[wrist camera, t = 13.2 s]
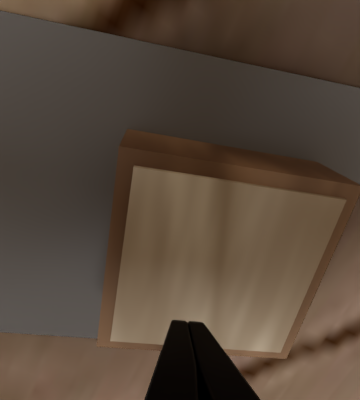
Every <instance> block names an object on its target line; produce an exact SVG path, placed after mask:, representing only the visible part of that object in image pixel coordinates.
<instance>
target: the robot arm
mask: <svg viewBox="0 0 360 400" xmlns="http://www.w3.org/2000/svg"><path fill="white" fill-rule="evenodd" d="M145 400H260V399H259V397H258V396H257V394H256V393H255V392H254V390H253V389H252V388H251V386H250V385H249V384H248V382H247V381H246V380H245V378H244V377H243V375H242V374H241V373H240V371H239V370H238V369H237V367H236V366H235V365H234V363H233V362H232V361H231V359H230V358H229V356H228V355H227V354H226V352H225V351H224V350H223V348H222V347H221V346H220V344H219V343H218V342H217V340H216V339H215V337H214V336H213V335H212V333H211V332H210V331H209V329H208V328H207V327H206V325H205V324H204V323H203V322H197V321H189V322H186V321H185V320H172V321H171V323H170V326H169V329H168V332H167V335H166V338H165V341H164V344H163V347H162V350H161V352H160V355H159V358H158V361H157V364H156V367H155V370H154V373H153V376H152V379H151V382H150V385H149V388H148V391H147V394H146V397H145Z"/></svg>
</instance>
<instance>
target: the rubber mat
mask: <svg viewBox="0 0 360 400" xmlns="http://www.w3.org/2000/svg"><path fill="white" fill-rule="evenodd" d="M127 129H132V130H137V131H143V132H149V133H155V134H160V135H166V136H172V137H177V138H183V139H189V140H195V141H200V142H206V143H212V144H218V145H223V146H229V147H235V148H241V149H246V150H252V151H258V152H263V153H269V154H275V155H281V156H286V157H292V158H298V159H304V160H309V161H315V162H318V163H320V164H322V165H324V166H326V167H328V168H330V169H332V170H333V171H335V172H337V173H339V174H341V175H343V176H345V177H347V178H348V179H350V180H352V181H354V182H356V183H358V184H360V88H358V87H353V86H348V85H344V84H339V83H335V82H330V81H325V80H321V79H316V78H311V77H307V76H302V75H297V74H293V73H288V72H283V71H279V70H274V69H270V68H265V67H260V66H256V65H251V64H246V63H242V62H237V61H232V60H228V59H223V58H218V57H214V56H209V55H204V54H200V53H195V52H191V51H186V50H181V49H177V48H172V47H167V46H163V45H158V44H153V43H149V42H144V41H139V40H135V39H130V38H126V37H121V36H116V35H112V34H107V33H102V32H98V31H93V30H88V29H84V28H79V27H74V26H70V25H65V24H61V23H56V22H51V21H47V20H42V19H37V18H33V17H28V16H23V15H19V14H14V13H9V12H5V11H0V332H6V333H21V334H36V335H51V336H66V337H81V338H96V339H97V337H98V328H99V320H100V311H101V302H102V293H103V284H104V275H105V266H106V257H107V248H108V239H109V230H110V221H111V212H112V203H113V194H114V185H115V176H116V167H117V158H118V149H119V145H120V143H121V141H122V139H123V137H124V134H125V132H126V130H127Z"/></svg>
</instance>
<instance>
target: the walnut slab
mask: <svg viewBox="0 0 360 400" xmlns="http://www.w3.org/2000/svg"><path fill="white" fill-rule="evenodd" d="M359 195H360V184H358V183H356V182H354V181H352V180H350V179H348V178H347V177H345V176H343V175H341V174H339V173H337V172H335V171H333V170H332V169H330V168H328V167H326V166H324V165H322V164H320V163H318V162H315V161H309V160H304V159H298V158H292V157H286V156H281V155H275V154H269V153H263V152H258V151H252V150H246V149H241V148H235V147H229V146H223V145H218V144H212V143H206V142H200V141H195V140H189V139H183V138H177V137H172V136H166V135H160V134H155V133H149V132H143V131H137V130H132V129H127V130H126V132H125V134H124V137H123V139H122V141H121V143H120V145H119V149H118V158H117V167H116V176H115V185H114V194H113V203H112V212H111V221H110V230H109V239H108V248H107V257H106V266H105V275H104V284H103V293H102V302H101V311H100V320H99V328H98V337H97V347H112V348H127V349H143V350H158V351H161V350H162V347H163V344H164V341H165V338H166V335H167V332H168V329H169V326H170V323H171V321H172V320H185V321H186V322H189V321H197V322H203V323H204V324H205V325H206V327H207V328H208V329H209V331H210V332H211V333H212V335H213V336H214V337H215V339H216V340H217V342H218V343H219V344H220V346H221V347H222V348H223V350H224V351H225V352H226V354H227V355H235V356H250V357H265V358H280V359H286V358H287V356H288V354H289V352H290V349H291V347H292V345H293V343H294V340H295V338H296V336H297V334H298V332H299V329H300V327H301V325H302V323H303V320H304V318H305V316H306V314H307V311H308V309H309V307H310V305H311V303H312V300H313V298H314V296H315V294H316V291H317V289H318V287H319V285H320V282H321V280H322V278H323V276H324V274H325V271H326V269H327V267H328V265H329V262H330V260H331V258H332V256H333V253H334V251H335V249H336V247H337V245H338V242H339V240H340V238H341V236H342V233H343V231H344V229H345V227H346V224H347V222H348V220H349V218H350V216H351V213H352V211H353V209H354V207H355V204H356V202H357V200H358V198H359Z"/></svg>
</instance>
